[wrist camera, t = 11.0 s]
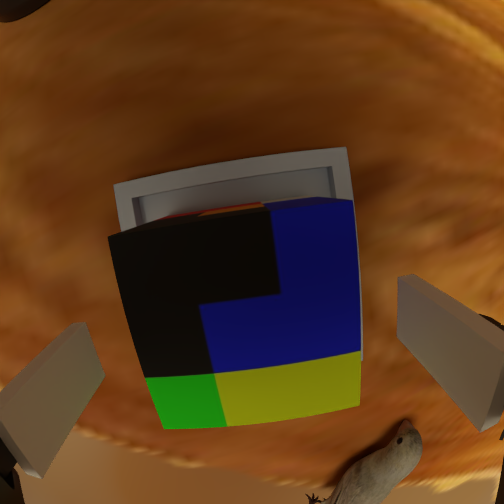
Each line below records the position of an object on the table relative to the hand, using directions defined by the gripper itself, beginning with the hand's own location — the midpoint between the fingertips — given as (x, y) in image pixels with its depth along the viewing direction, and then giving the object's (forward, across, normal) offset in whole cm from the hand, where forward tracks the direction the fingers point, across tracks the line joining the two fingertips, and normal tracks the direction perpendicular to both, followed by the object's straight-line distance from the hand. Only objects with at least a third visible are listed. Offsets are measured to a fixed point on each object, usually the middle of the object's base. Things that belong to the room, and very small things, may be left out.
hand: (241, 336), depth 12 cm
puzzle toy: (+11, 0, -1) cm, 11 cm away
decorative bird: (+12, +9, -26) cm, 30 cm away
